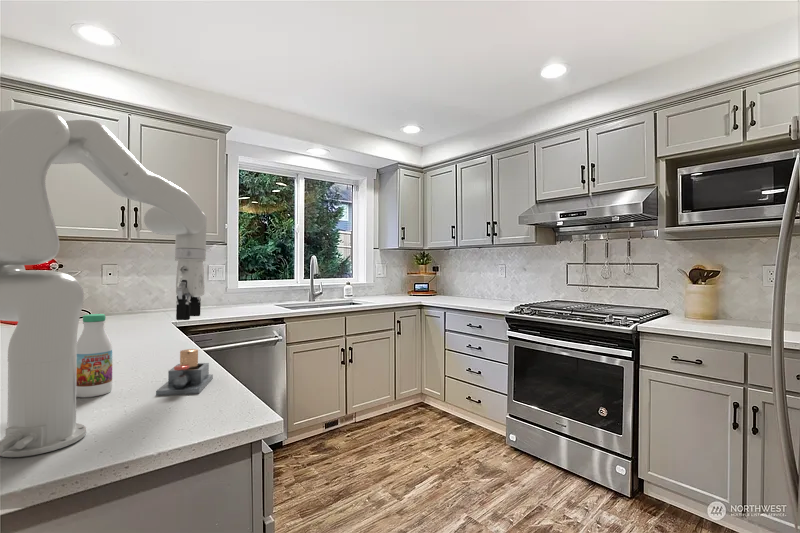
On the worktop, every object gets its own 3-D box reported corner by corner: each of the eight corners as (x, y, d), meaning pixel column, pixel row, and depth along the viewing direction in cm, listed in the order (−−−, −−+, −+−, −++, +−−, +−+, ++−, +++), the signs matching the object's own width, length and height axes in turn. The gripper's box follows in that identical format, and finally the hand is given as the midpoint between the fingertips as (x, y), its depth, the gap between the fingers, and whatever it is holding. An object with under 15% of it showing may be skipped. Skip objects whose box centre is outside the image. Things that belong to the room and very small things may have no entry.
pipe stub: (195, 381, 110) (195, 352, 110) (177, 382, 109) (177, 352, 109) (199, 377, 114) (200, 348, 114) (182, 377, 114) (183, 349, 114)
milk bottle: (67, 395, 101) (68, 315, 101) (102, 387, 108) (102, 312, 108) (83, 400, 98) (84, 317, 98) (118, 391, 105) (119, 314, 105)
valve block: (199, 393, 104) (199, 368, 104) (156, 395, 102) (156, 370, 102) (212, 378, 118) (212, 356, 118) (175, 380, 116) (175, 357, 115)
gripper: (196, 254, 104) (194, 321, 104) (212, 257, 121) (211, 314, 121) (164, 253, 103) (162, 321, 102) (185, 256, 120) (183, 314, 119)
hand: (188, 317), depth 112 cm, fingers open, 9 cm apart
